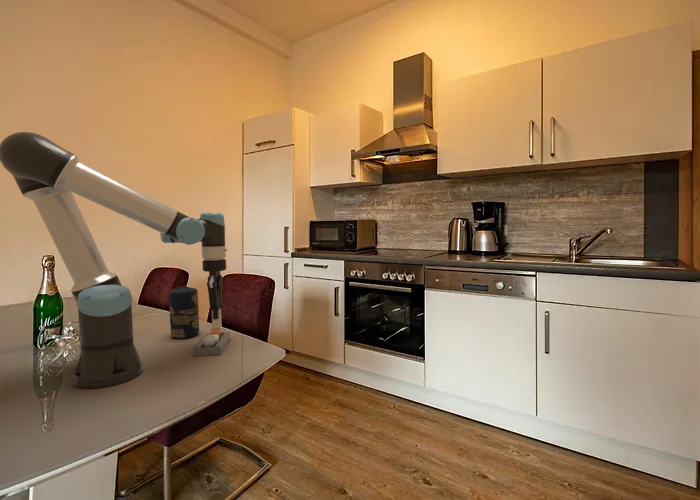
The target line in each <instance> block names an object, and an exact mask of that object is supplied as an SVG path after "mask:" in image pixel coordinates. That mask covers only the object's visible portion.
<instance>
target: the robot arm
mask: <svg viewBox="0 0 700 500" xmlns="http://www.w3.org/2000/svg"><path fill="white" fill-rule="evenodd" d="M0 163H1V165H2V167H4V169H5V170H6V171H8V172H9V173H10V174H11V175H12V177H13V179H14V181H15V183H16V185H17V187H18V189H19V190H20V192H21V195H22V197H24V198H26V199H28V200H32V201H33V202H34V204H35V207H36V208H37V211H38V213H39V215H40V216H41V219H42V221H43V223H44V225H45V227H46V228H47V231H48V233H49V235H50V236H51V238H52V241H53V244H54V245H55V247H56V249H57V250H58V252H59V255H60V257H61V259H62V260H63V263H64V266H65V267H66V269H67V270H68V273H69V275H70V277H71V279H72V281H73V285H72V287H71V290H70V292H71V293H72V296H73V298H74V300H75V302H76V307H77V309H78V311H77V313H78V327H79V329H78V330H79V331H78V332H79V343H80V353H79V356H78V359H77V362H76V366H75V369H74V371H73V375H72V376H73V377H72V378H73V385H74V386H75V387H77V388H83V389H93V388H94V389H97V388H104V387H110V386H114V385H117V384H122V383H124V382H127V381H129V380H132V379H134V378H136V377H137V376H139V375H140V374H141V373H142V372H143V362H142V360H141V357H140V354H139V353H138V350H137V348H136V346H135V344H134V329H133V328H134V327H133V305H132V303H133V296H132V292H131V290H130V288H129V287H126V286H124V285H122V283H121V281H120V279H119V276H118V274H117V273H115V272H112V271H110V270H109V269H108V267H107V265H106V262H105V261H104V259H103V257H102V254H101V252H100V250H99V248H98V246H97V244H96V242H95V239H94V237H93V235H92V233H91V231H90V229H89V226H88V224H87V222H86V220H85V218H84V216H83V213H82V212H81V210H80V207H79V205H78V203H77V201H76V198H75V197H74V194H76V195H78V196H80V197H83V198H85V199H86V200H89V201H91V202H94V204H95V203H96V204H97V205H100V206H103V208H104V207H105V208H106V209H109V210H110V211H112V212H115V213H117V214H119V215H122V216H124V217H126V218H128V219H130V220H132V221H135V222H137V223H138V224H139V223H140V224H141V225H144V226H146V227H148V228H150V229H152V230H153V231H157V232H159V234H160V241H161V242H162V243H164V244H176V243H179V244H184V245H188V246H190V245H195V244H197V243H200V242H201V243H200V244H201V258H202V259H203V260H202V271H203V272H208V273H209V274H208V277H207V282H206V286H207V293H208V300H209V308H208V310H209V311H211V323H212V324H211V326H212V327H211V329H216V328H223V327H222V309H224V305H223V278H224V277H223V275H222V274H221V272H223V271H226V270H227V259H225V258H226V257H227V254H226V253H227V252H228V248H226V222H225V217H224V214H223V213H221V212H202V213H201V214H200V215H199V216H200V217H199V218H196V217H190V216H188V215H186V214H184V213H182V212H180V211H178V210H177V209H175V208H172V207H171V206H169V205H167V204H164V203H162V202H160V201H159V200H157V199H155V198H152V197H150V196H149V195H147V194H144V193H142V192H141V191H138V190H137V189H134V188H133V187H131V186H129V185H127V184H125V183H122V182H120V181H119V180H117V179H115V178H113V177H111V176H109V175H107V174H104V173H103V172H101V171H99V170H97V169H96V168H93V167H91V166H90V165H87V164H86V163H83V162H81V161H80V160H79V158H78V155H77V154H74V153H72V152H71V151H69V150H66V149H65V148H63V147H62V146H61V145H58V144H57V143H55V142H54V141H52V140H51V139H49V138H47V137H46V136H44V135H41V134H39V133H35V132H29V131H19V132H14V133H11V134H10V135H8V136H7V137H5V138H4V139H3V140H2V141H1V142H0Z"/></svg>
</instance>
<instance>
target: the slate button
mask: <svg viewBox="0 0 700 500" xmlns="http://www.w3.org/2000/svg"><path fill="white" fill-rule="evenodd" d="M202 337H203V336H202ZM213 346H215V336H206V337H203V347H213Z"/></svg>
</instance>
